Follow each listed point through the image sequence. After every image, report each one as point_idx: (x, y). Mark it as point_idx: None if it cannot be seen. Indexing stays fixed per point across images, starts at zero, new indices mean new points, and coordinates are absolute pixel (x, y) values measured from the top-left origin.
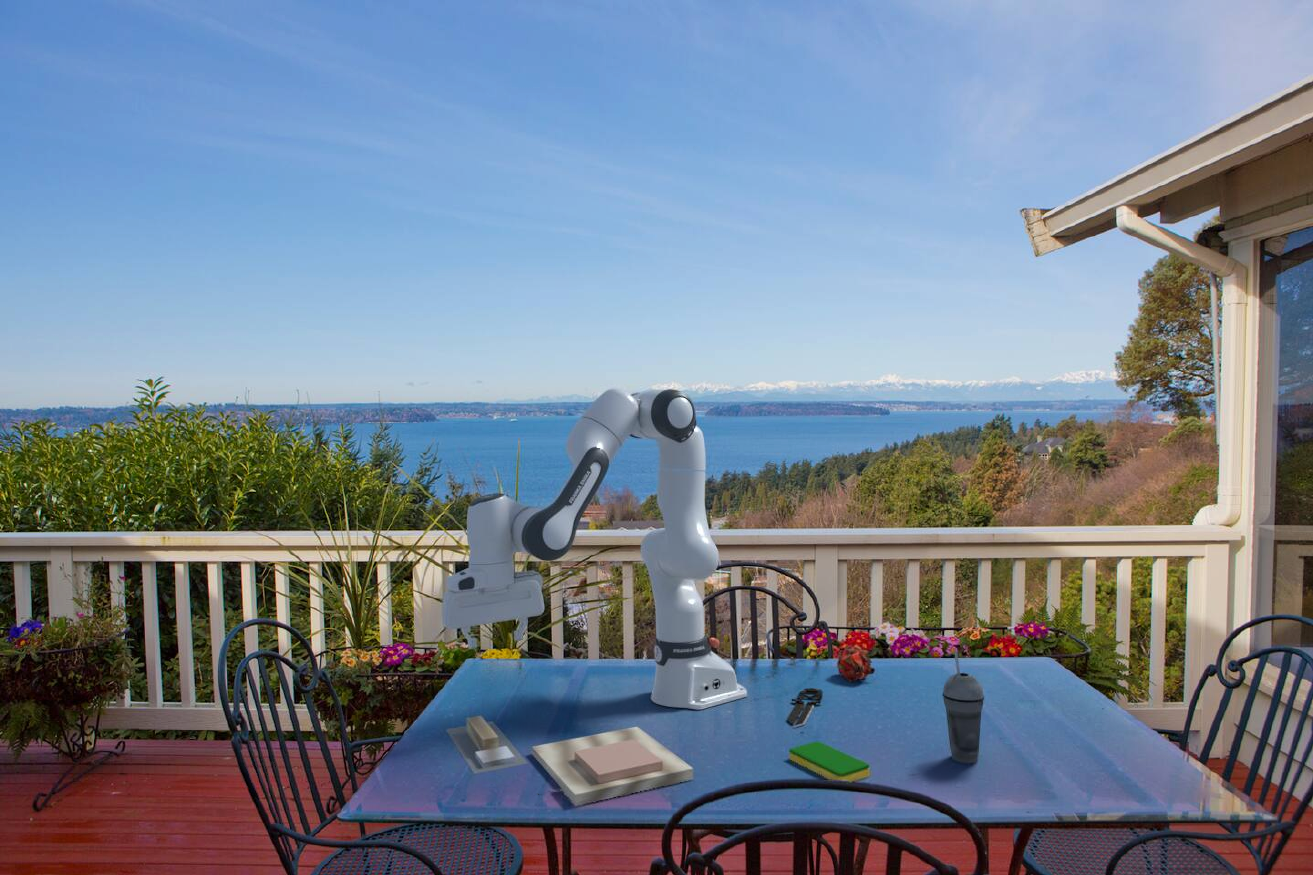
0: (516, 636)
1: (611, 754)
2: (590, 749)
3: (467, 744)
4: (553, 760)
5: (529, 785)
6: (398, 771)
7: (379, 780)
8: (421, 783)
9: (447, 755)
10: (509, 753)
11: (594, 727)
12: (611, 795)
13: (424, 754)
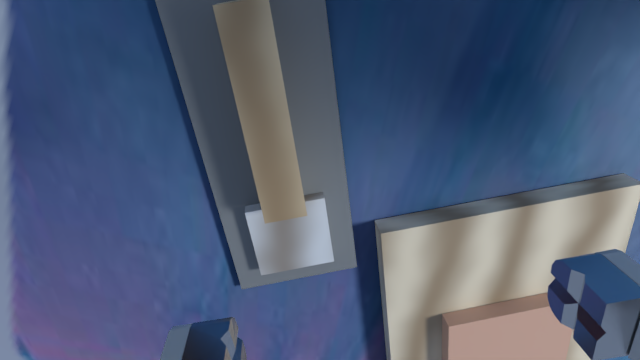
0: (573, 324)
1: (502, 351)
2: (479, 325)
3: (223, 113)
4: (403, 308)
5: (341, 332)
6: (53, 215)
7: (19, 251)
8: (129, 285)
9: (170, 150)
10: (325, 243)
11: (578, 76)
12: None
13: (100, 123)
